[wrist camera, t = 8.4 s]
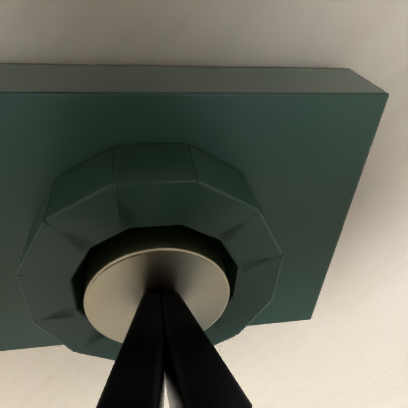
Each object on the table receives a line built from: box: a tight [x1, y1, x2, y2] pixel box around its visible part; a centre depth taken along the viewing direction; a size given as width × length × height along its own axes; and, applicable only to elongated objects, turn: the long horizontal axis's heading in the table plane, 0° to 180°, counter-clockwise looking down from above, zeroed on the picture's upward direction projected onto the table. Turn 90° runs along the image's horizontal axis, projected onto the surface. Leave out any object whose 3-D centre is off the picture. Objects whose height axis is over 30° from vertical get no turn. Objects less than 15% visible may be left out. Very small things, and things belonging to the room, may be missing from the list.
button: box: [83, 225, 230, 343], centre depth 10 cm, size 4×4×2 cm
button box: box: [0, 64, 389, 360], centre depth 11 cm, size 12×9×4 cm
